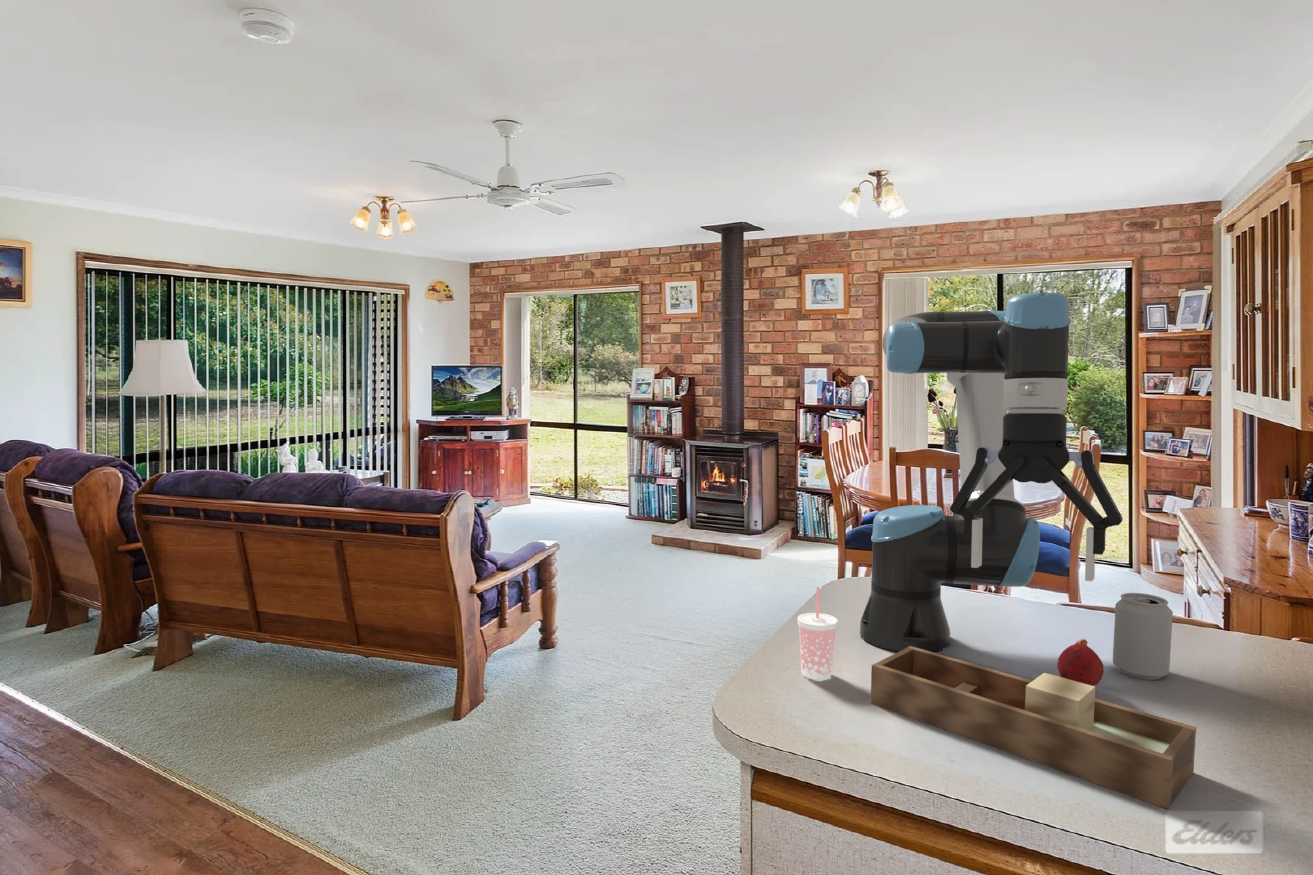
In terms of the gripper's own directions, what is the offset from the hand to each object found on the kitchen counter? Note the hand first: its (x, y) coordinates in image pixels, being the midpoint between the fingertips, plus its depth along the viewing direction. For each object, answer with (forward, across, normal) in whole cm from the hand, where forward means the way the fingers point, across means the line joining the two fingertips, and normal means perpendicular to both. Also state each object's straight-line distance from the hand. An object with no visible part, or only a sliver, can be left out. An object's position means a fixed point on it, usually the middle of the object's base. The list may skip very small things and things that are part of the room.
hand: (1030, 572), depth 100 cm
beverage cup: (+20, -30, 0) cm, 36 cm away
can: (+19, +11, +30) cm, 37 cm away
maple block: (+18, +4, -4) cm, 19 cm away
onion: (+20, +4, +16) cm, 26 cm away
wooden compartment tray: (+21, -1, -3) cm, 21 cm away
